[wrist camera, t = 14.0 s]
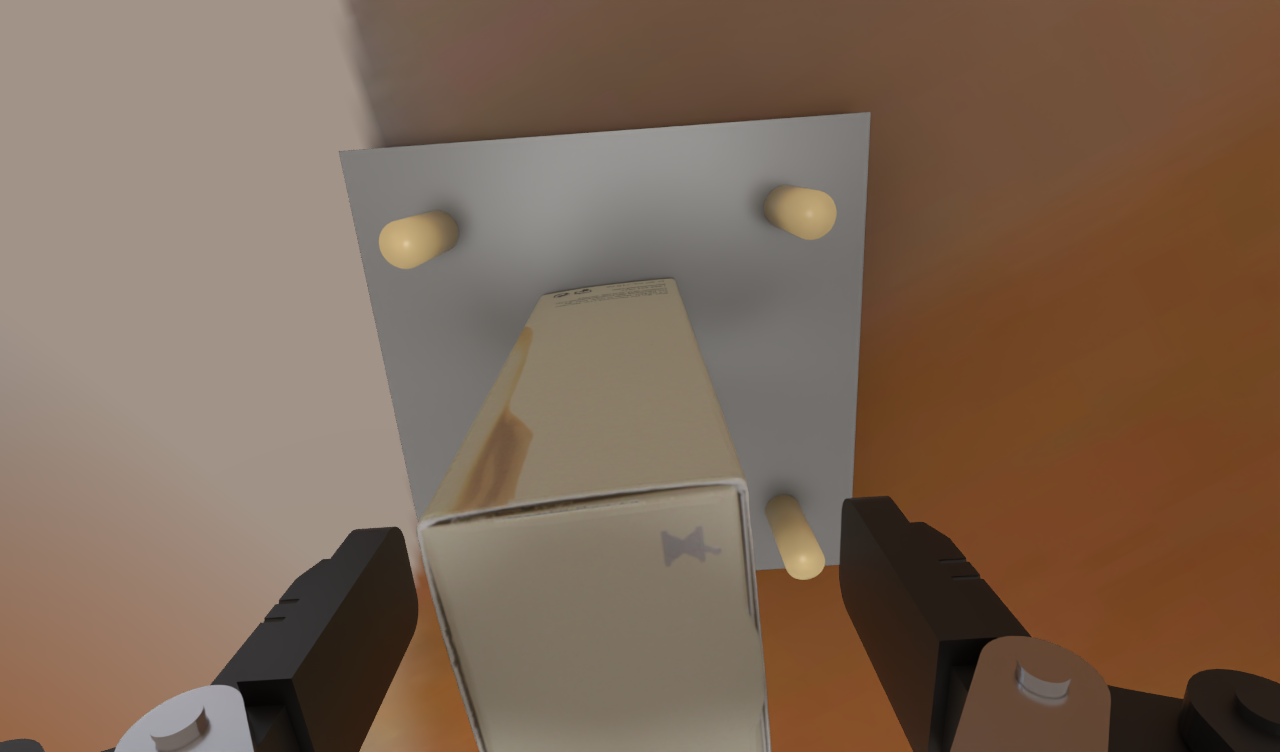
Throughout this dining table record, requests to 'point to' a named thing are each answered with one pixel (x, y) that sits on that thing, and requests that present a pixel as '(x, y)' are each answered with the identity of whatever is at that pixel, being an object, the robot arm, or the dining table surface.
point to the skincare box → (601, 541)
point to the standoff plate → (630, 252)
